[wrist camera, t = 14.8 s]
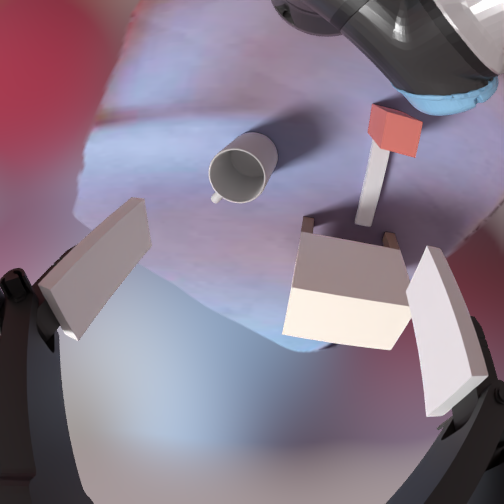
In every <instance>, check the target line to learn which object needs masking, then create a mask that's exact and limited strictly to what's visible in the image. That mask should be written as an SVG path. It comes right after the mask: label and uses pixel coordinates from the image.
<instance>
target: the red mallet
mask: <svg viewBox="0 0 504 504" xmlns="http://www.w3.org/2000/svg"><path fill="white" fill-rule="evenodd" d="M422 124H423V122H422V121H420V120H418V119H416V118H414V117H412V116H410V115H408V114H406V113H404V112H402V111H399V110H395V109H391V108H387V107H384V106H380V105H375V104H372V108H371V115H370V121H369V127H368V133H369V135H370V136H371V137H372V144H371V149H370V155H369V160H368V164H367V169H366V174H365V178H364V183H363V187H362V192H361V196H360V200H359V204H358V208H357V212H356V216H355V224H358V225H363V226H368V227H371V224H372V221H373V217H374V214H375V210H376V206H377V203H378V199H379V195H380V191H381V187H382V183H383V179H384V175H385V171H386V167H387V162H388V158H389V153H390V151H392V152H396V153H400V154H403V155H407V156H411V157H414V158H415V156H416V152H417V148H418V143H419V139H420V134H421V129H422Z"/></svg>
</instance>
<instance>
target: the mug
mask: <svg viewBox="0 0 504 504" xmlns="http://www.w3.org/2000/svg"><path fill="white" fill-rule="evenodd" d="M277 160H278V153H277V149H276V147H275V145H274V143H273V142H272V141H271V140H270V139H269V138H268V137H266V136H265V135H263V134H260V133H256V132H249V133H244V134H242V135H240V136H238V137H237V138H236V139H235V140H234V141H232V142H231V143H230V144H229V145H227V146H226V147H225V148H224V149H222V150H221V151H220V152H219V153H218V154H217V155H216V156H215V157H214V158H213V160H212V161H211V163H210V166H209V180H210V183H211V185H212V187H213V189H214V190H215V191H216V192H215V193H214V194H213V195H212V197H211V200H212V201H213V202H214V203H218V202H219V201H220V200H221V199H222V198H224V199H225V200H228V201H230V202H234V203H246V202H250V201H252V200H254V199H256V198H257V197H258V196H259V195H260V194H261V193H262V192H263V190H264V188H265V186H266V184H267V182H268V180H269V178H270V176H271V174H272V172H273V171H274V169H275V167H276V164H277Z"/></svg>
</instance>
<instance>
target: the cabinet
mask: <svg viewBox="0 0 504 504" xmlns="http://www.w3.org/2000/svg"><path fill="white" fill-rule="evenodd" d="M313 225H314V218H310V217H304V216H303V222H302V228H301V235H300V241H299V247H298V252H297V257H296V263H295V269H294V275H293V280H292V286H291V291H290V297H289V302H288V307H287V313H286V318H285V323H284V328H283V333H282V334H283V335H289V336H294V337H300V338H306V339H312V340H318V341H325V342H331V343H338V344H345V345H352V346H360V347H368V348H376V349H385V350H391V349H392V347H393V346H394V344H395V342H396V341H397V340H398V338H399V336H400V335H401V333H402V332H403V330H404V329H405V327H406V325H407V324H408V322H409V320H410V319H411V317H412V316H411V311H410V307H409V303H408V299H407V295H406V290H407V288H408V286H409V284H410V280H409V276H408V273H407V270H406V266H405V263H404V260H403V257H402V254H401V251H400V248H399V245H398V242H397V239H396V236H395V234H394V233H389V232H385V234H384V237H383V240H382V241H383V245H384V247H382V246H377V245H372V244H367V243H362V242H356V241H351V240H346V239H340V238H335V237H329V236H324V235H318V234H313Z"/></svg>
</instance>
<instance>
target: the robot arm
mask: <svg viewBox="0 0 504 504" xmlns="http://www.w3.org/2000/svg"><path fill="white" fill-rule="evenodd" d="M271 1H272V4H273V6H274V8H275V9H276V11H277V12H278V14H279V15H280V16H281V17H282V19H283V20H285V21H286V22H287V23H288V24H289V25H291V26H292V27H294V28H296V29H297V30H300V31H302V32H304V33H307V34H311V35H316V36H338V35H342V34H343V35H344V36H345V37H346V38H348V39H349V40H350V41H351V42H352V43H353V44H354V45H355V46H356V47H357V48H358V49H359V50H360V51H361V52H362V53H364V54H365V55H366V56H367V57H368V58H369V59H370V60H371V61H372V62H373V63H374V64H375V66H376V67H377V68H378V69H379V70H380V71H381V72H382V73H383V74H384V75H385V76H386V77H387V78H388V79H389V81H390V82H391V84H392V86H393V87H394V88H395V89H396V90H397V91H399V92H400V93H402V94H403V95H404V97H405V98H406V99H407V100H408V101H409V102H410V103H411V104H412V106H414V107H415V108H416V109H417V110H419V111H421V112H423V113H426V114H429V115H436V116H444V115H453V114H457V113H461V112H465V111H467V110H470V109H472V108H474V107H476V104H477V103H480V102H481V103H483V102H485V101H486V100H488V99H489V98H490V97H491V96H492V95H493V94H494V93H495V91H496V90H497V87H498V75H502V74H503V73H504V0H271ZM151 246H152V244H151V238H150V232H149V226H148V220H147V213H146V207H145V200H144V199H142V198H133V197H131V198H130V199H129V200H128V201H127V202H125V203H124V204H123V205H122V206H120V207H119V208H118V209H117V210H116V211H114V212H113V213H112V214H111V215H110V216H109V217H107V218H106V219H105V220H104V221H103V222H102V223H101V224H99V225H98V226H97V227H96V228H95V229H94V230H93V231H92V232H90V233H89V234H88V235H87V236H86V237H85V238H84V239H83V240H82V241H81V242H80V243H79V244H77V245H76V246H74V247H72V248H70V249H69V250H67V251H66V252H65V253H64V254H63V255H62V256H61V257H60V259H58V260H57V261H56V262H55V263H54V265H52V266H51V267H50V268H49V269H48V270H47V271H46V272H45V273H44V274H43V275H42V276H41V277H40V278H39V279H38V280H37V281H36V282H35V283H34V285H33V286H31V284H30V282H29V280H28V278H27V276H26V274H25V272H24V270H23V269H21V268H16V269H13V270H10V271H8V272H7V273H6V274H5V275H4V276H3V277H2V278H1V279H0V287H1V288H0V504H94V503H93V502H92V501H91V499H90V498H89V497H88V496H87V495H86V493H85V492H84V490H83V487H82V485H81V481H80V478H79V474H78V470H77V467H76V463H75V459H74V455H73V451H72V446H71V441H70V437H69V431H68V426H67V419H66V414H65V407H64V399H63V391H62V380H61V368H60V350H59V334H58V332H57V329H58V327H59V326H61V328H62V329H63V331H64V333H65V334H66V335H67V336H70V337H71V338H73V339H75V340H78V341H79V340H80V338H81V337H82V335H83V334H84V333H85V331H86V330H87V328H88V327H89V326H90V324H91V323H92V322H93V320H94V318H95V317H96V316H97V315H98V313H99V312H100V310H101V309H102V308H103V306H104V305H105V304H106V303H107V301H108V300H109V299H110V297H111V296H112V295H113V293H114V292H115V291H116V290H117V288H118V287H119V286H120V284H121V283H122V282H123V281H124V279H125V278H126V277H127V276H128V274H129V273H130V272H131V271H132V269H133V268H134V267H135V266H136V264H137V263H138V262H139V261H140V260H141V258H142V257H143V256H144V255H145V254H146V252H147V251H148V250H149V249H150V248H151ZM1 289H2V290H1ZM2 291H3V292H2ZM3 293H4V294H3ZM406 295H407V299H408V303H409V307H410V311H411V316H412V321H413V325H414V330H415V336H416V341H417V346H418V352H419V358H420V365H421V371H422V379H423V387H424V395H425V406H426V417H429V416H443V415H444V414H446V413H447V412H448V411H449V410H450V409H452V412H453V416H452V417H450V418H449V419H448V420H446V421H445V422H444V423H442V424H441V425H440V426H439V427H438V428H437V429H438V430H439V429H441V428H442V427H444V428H443V429H442V431H441V432H440V434H439V436H438V437H437V439H436V440H435V442H434V443H433V445H432V446H431V448H430V449H429V451H428V452H427V453H426V455H425V456H424V458H423V459H422V460H421V462H420V463H419V465H418V466H417V467H416V468H415V470H414V471H413V473H412V474H411V475H410V476H409V477H408V479H407V480H406V481H405V482H404V483H403V485H402V486H401V487H400V488H399V489H398V490H397V492H396V493H395V494H394V495H393V496H392V497H391V498H390V500H389V501H388V502H387V503H386V504H504V382H503V381H501V380H498V378H497V375H496V371H495V367H494V364H493V360H492V357H491V354H490V351H489V349H488V345H487V341H486V340H485V335H484V333H483V330H482V327H481V326H480V324H479V323H478V321H477V320H476V318H475V317H473V316H470V315H469V312H468V309H467V307H466V304H465V302H464V299H463V297H462V294H461V292H460V290H459V287H458V285H457V283H456V280H455V278H454V276H453V274H452V271H451V269H450V267H449V265H448V263H447V261H446V259H445V257H444V255H443V253H442V251H441V249H440V248H436V247H432V246H426V249H425V251H424V253H423V256H422V258H421V260H420V262H419V265H418V267H417V269H416V271H415V273H414V275H413V278H412V280H411V282H410V284H409V286H408V288H407V290H406Z"/></svg>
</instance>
